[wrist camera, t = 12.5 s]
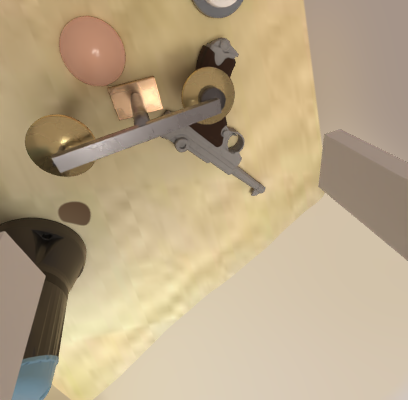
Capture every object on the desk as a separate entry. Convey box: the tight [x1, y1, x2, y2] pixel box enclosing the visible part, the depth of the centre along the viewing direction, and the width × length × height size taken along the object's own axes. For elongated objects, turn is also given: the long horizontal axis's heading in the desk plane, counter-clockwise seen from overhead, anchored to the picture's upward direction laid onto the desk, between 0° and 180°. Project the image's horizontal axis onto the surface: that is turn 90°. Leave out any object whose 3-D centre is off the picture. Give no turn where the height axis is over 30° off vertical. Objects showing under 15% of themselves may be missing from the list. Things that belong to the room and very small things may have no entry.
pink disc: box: [59, 16, 125, 86], centre depth 30 cm, size 7×7×1 cm
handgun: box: [160, 38, 265, 196], centre depth 41 cm, size 3×24×15 cm
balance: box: [25, 67, 235, 177], centre depth 29 cm, size 22×6×16 cm, turn 100°
